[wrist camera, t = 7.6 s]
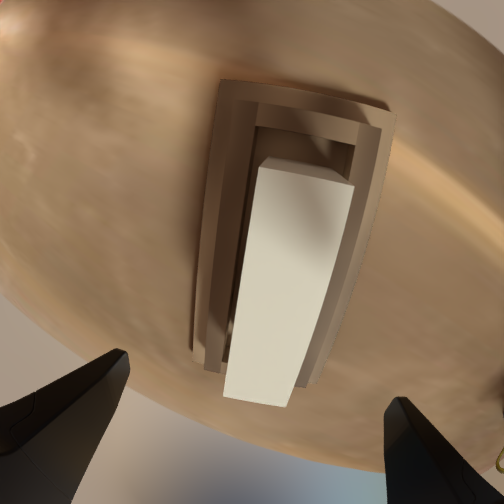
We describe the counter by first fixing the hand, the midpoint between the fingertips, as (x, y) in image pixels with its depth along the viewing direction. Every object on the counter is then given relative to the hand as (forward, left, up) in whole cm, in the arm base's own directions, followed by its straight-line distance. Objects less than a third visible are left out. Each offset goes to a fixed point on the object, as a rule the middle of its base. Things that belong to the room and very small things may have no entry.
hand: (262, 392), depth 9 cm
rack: (0, 0, -11) cm, 11 cm away
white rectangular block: (0, 0, -10) cm, 10 cm away
